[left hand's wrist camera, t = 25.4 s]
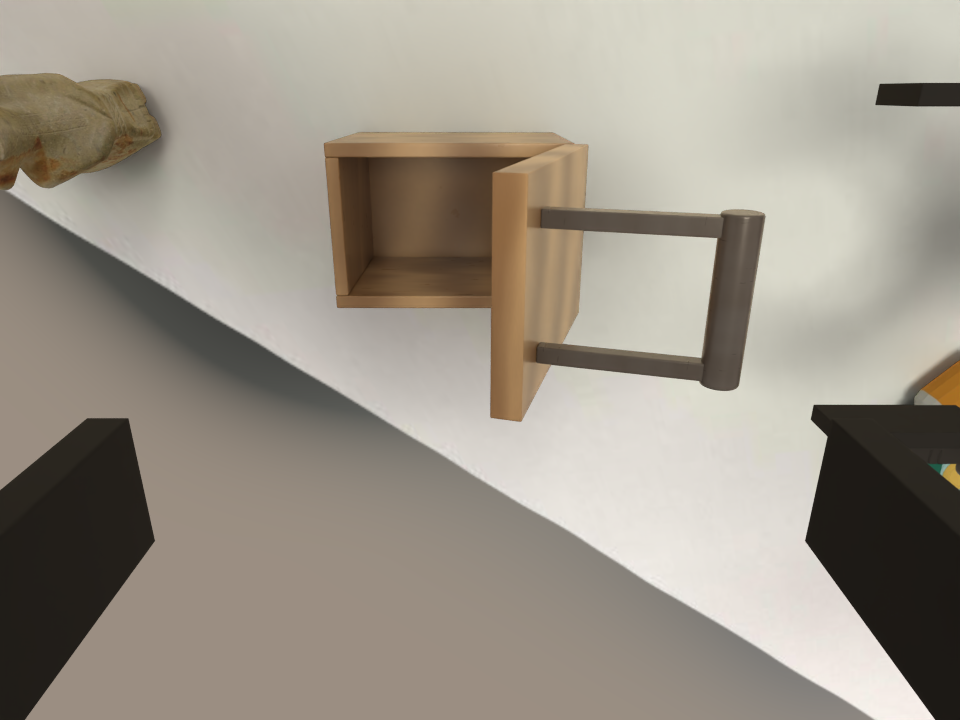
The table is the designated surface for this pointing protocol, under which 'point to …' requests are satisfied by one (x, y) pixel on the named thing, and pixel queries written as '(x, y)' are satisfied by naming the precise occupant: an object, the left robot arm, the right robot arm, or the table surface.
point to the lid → (557, 274)
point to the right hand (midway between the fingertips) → (857, 275)
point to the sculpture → (68, 126)
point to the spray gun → (946, 389)
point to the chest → (418, 214)
